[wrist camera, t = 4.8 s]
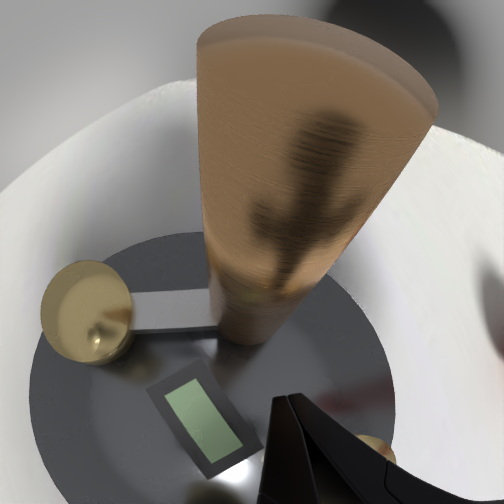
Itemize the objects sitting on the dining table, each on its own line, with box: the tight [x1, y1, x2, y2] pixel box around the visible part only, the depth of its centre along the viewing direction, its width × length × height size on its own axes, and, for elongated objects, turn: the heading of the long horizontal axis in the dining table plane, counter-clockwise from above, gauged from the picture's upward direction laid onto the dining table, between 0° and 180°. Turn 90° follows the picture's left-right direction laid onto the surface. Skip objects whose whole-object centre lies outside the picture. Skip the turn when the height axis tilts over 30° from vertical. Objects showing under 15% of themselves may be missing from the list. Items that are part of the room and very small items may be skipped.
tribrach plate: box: [29, 232, 396, 504], centre depth 12 cm, size 20×20×3 cm
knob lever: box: [40, 14, 439, 366], centre depth 8 cm, size 12×5×13 cm, turn 97°
